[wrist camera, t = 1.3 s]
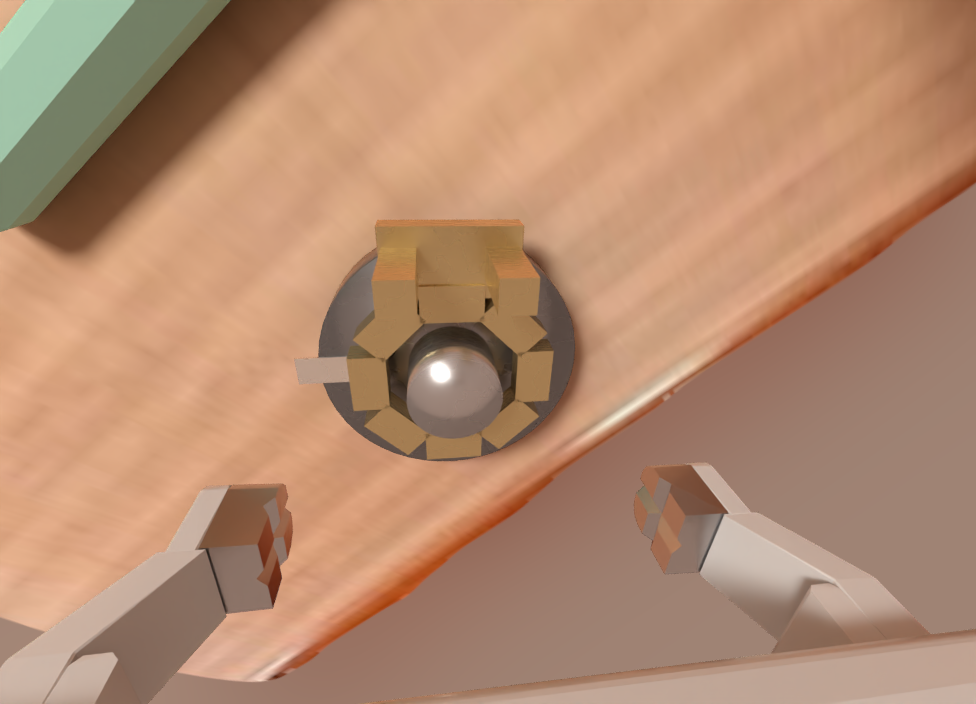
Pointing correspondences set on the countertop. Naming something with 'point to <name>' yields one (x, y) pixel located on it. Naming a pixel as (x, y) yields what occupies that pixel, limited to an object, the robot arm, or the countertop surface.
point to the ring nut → (450, 299)
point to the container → (79, 85)
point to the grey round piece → (437, 365)
